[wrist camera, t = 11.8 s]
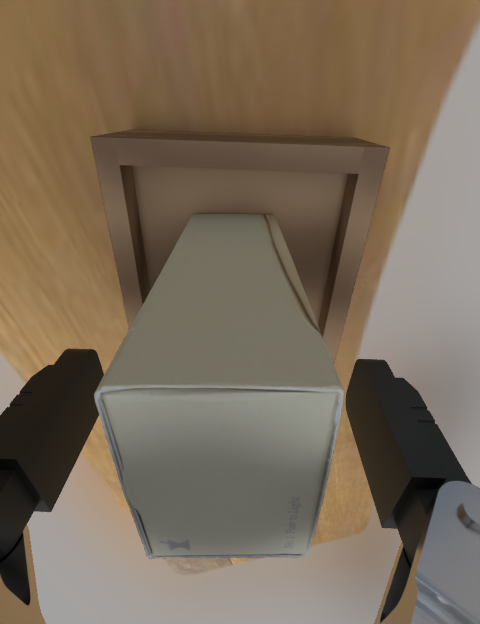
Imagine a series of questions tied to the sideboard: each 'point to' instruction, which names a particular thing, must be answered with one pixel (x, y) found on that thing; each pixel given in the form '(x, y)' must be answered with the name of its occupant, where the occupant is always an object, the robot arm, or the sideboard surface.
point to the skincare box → (224, 399)
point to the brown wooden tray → (242, 204)
